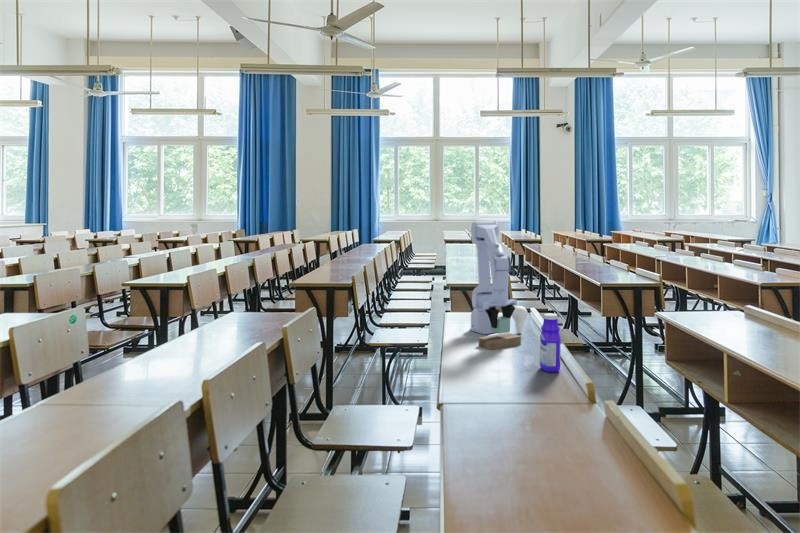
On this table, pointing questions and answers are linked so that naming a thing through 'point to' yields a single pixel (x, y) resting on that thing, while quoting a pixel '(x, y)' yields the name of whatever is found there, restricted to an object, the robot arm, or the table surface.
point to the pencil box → (499, 341)
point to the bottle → (550, 344)
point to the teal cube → (501, 325)
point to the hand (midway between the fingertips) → (499, 326)
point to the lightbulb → (519, 318)
